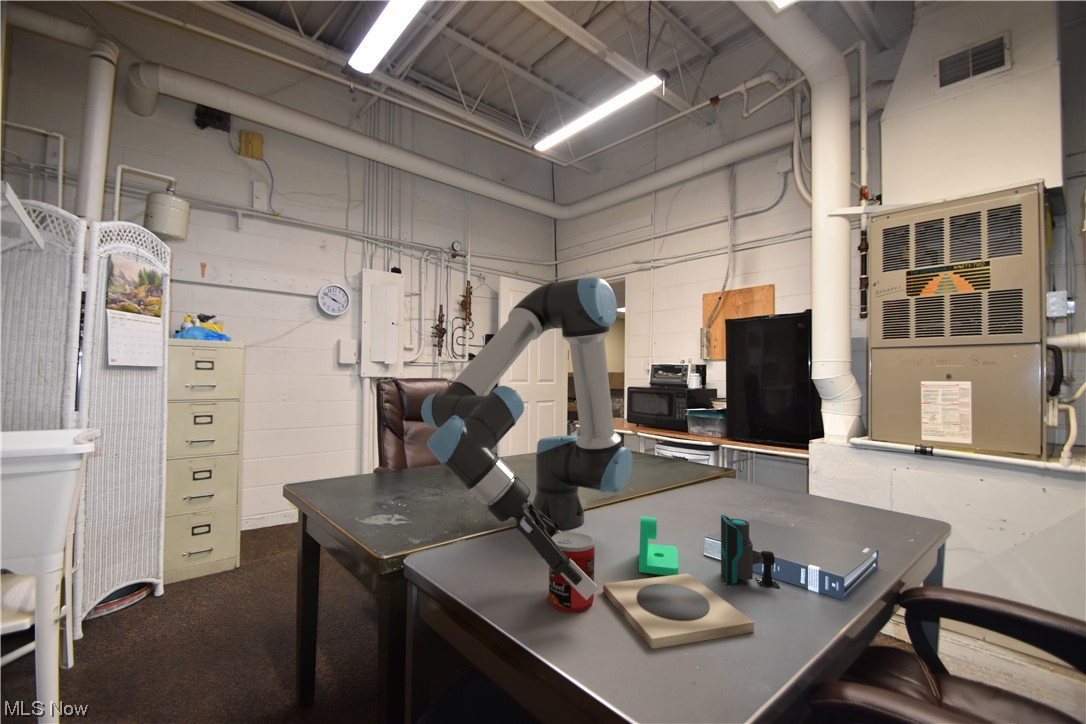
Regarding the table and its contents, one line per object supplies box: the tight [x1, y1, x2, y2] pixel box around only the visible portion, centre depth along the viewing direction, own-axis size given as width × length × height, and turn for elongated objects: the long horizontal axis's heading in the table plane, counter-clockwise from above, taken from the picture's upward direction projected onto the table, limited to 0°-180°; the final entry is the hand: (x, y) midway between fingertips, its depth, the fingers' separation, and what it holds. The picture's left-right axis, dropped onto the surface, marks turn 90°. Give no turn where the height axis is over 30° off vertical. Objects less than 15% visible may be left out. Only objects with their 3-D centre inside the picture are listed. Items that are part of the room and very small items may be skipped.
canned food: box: [548, 532, 596, 613], centre depth 80 cm, size 8×8×11 cm
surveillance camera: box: [720, 514, 781, 589], centre depth 90 cm, size 6×12×10 cm
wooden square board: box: [602, 573, 755, 650], centre depth 78 cm, size 18×18×2 cm
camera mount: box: [638, 516, 679, 576], centre depth 96 cm, size 12×8×10 cm, turn 165°
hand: (584, 574), depth 81 cm, fingers open, 13 cm apart
